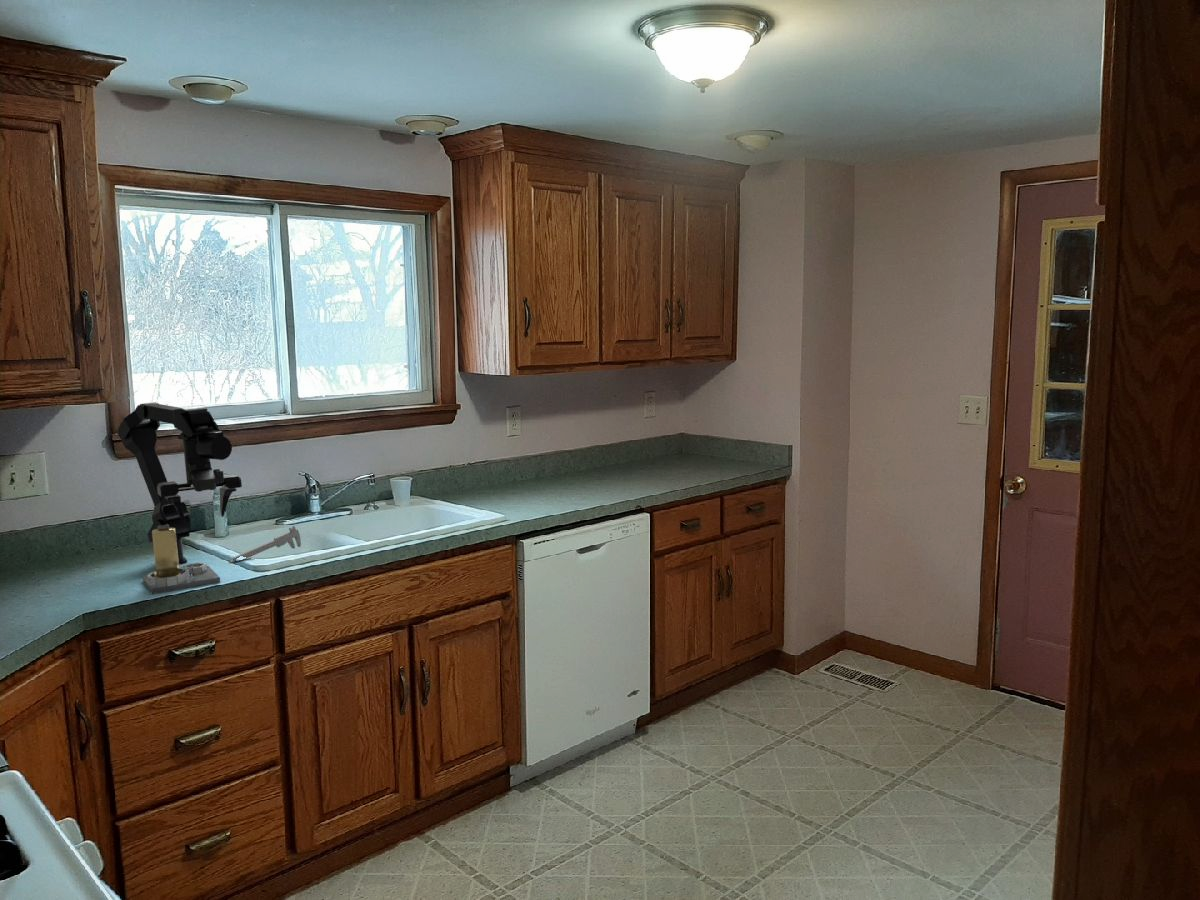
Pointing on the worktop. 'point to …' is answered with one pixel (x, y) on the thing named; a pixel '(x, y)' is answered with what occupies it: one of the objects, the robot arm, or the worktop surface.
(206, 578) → the plate
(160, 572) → the brass cylinder
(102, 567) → the worktop surface
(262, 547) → the caliper
